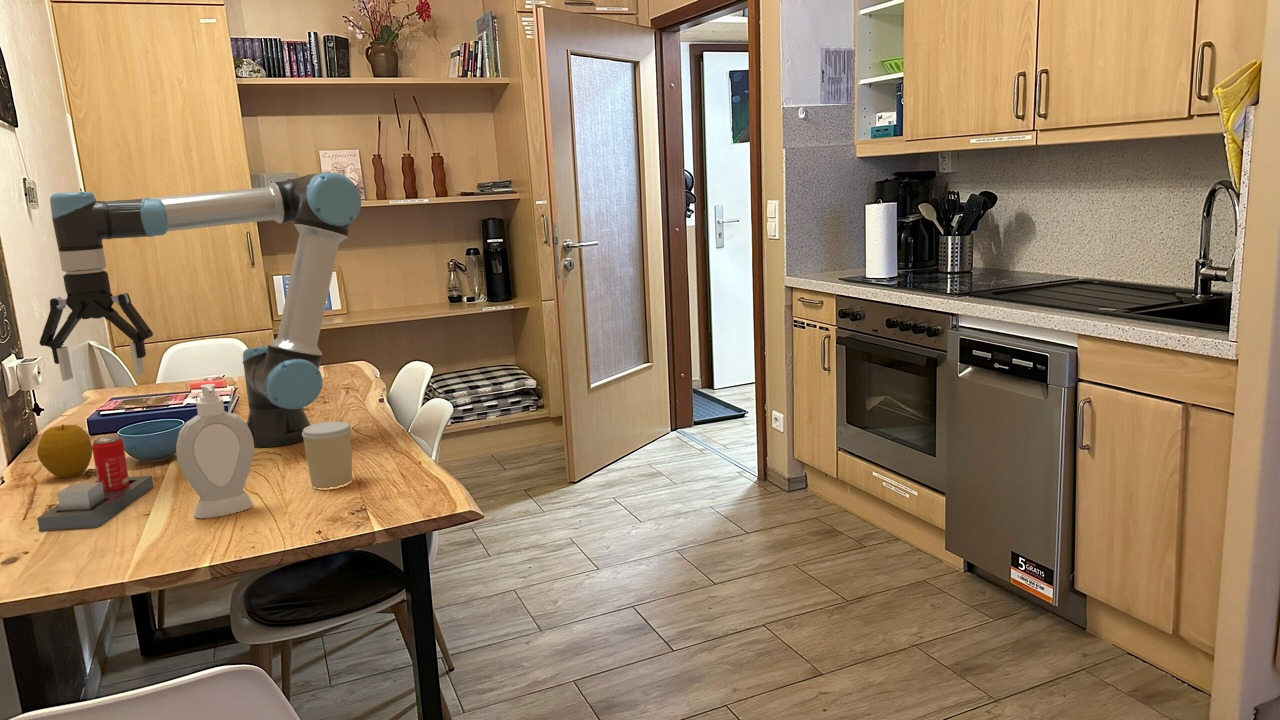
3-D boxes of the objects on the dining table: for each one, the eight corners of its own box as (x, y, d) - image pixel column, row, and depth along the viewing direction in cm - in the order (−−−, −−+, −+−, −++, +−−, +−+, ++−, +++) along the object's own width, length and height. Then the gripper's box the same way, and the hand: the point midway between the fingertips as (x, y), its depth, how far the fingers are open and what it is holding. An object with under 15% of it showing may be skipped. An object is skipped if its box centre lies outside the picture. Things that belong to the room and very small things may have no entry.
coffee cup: (366, 478, 179) (360, 422, 177) (336, 493, 171) (330, 434, 168) (328, 475, 182) (322, 419, 180) (297, 490, 174) (291, 431, 171)
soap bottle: (187, 528, 155) (169, 395, 150) (184, 515, 161) (166, 387, 157) (265, 512, 162) (250, 384, 157) (259, 500, 168) (244, 377, 163)
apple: (39, 487, 181) (30, 432, 178) (45, 474, 189) (36, 422, 187) (94, 478, 185) (85, 425, 183) (98, 467, 193) (90, 415, 191)
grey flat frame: (153, 487, 178) (149, 459, 177) (97, 527, 157) (92, 495, 156) (102, 490, 177) (97, 462, 176) (39, 531, 156) (33, 499, 155)
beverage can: (117, 502, 169) (107, 443, 167) (94, 501, 170) (84, 442, 168) (137, 493, 174) (128, 436, 172) (115, 492, 175) (106, 435, 173)
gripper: (159, 265, 177) (176, 367, 181) (27, 273, 174) (47, 377, 178) (144, 269, 169) (161, 375, 174) (5, 277, 166) (27, 385, 171)
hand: (103, 376), depth 176 cm, fingers open, 13 cm apart
